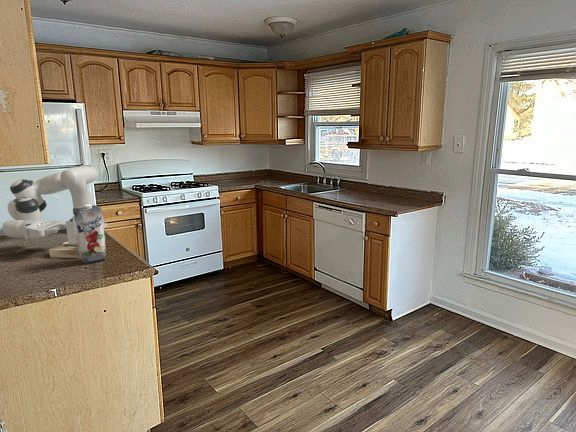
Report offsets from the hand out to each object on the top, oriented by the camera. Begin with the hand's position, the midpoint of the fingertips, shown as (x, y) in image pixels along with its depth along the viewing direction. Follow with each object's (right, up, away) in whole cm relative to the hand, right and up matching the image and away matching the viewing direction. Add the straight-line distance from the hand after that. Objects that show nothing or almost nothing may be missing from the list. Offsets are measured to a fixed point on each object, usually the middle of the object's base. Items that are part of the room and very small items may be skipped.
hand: (62, 228), depth 200 cm
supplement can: (+7, -8, +22) cm, 25 cm away
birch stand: (+6, -12, +3) cm, 13 cm away
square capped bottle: (+5, -8, +2) cm, 10 cm away
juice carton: (+21, -15, -11) cm, 28 cm away
